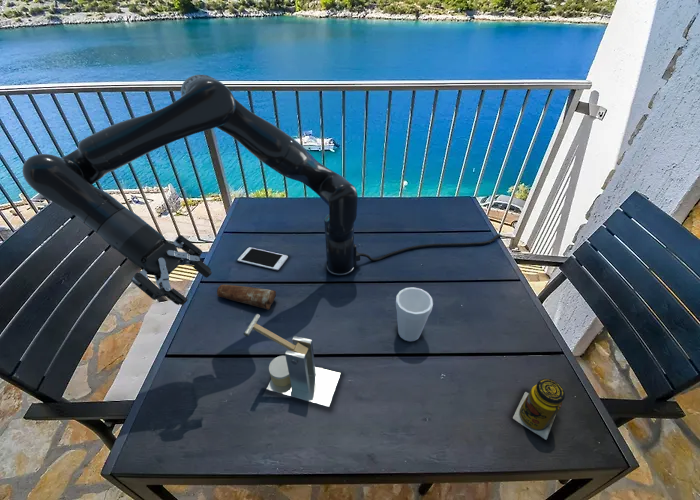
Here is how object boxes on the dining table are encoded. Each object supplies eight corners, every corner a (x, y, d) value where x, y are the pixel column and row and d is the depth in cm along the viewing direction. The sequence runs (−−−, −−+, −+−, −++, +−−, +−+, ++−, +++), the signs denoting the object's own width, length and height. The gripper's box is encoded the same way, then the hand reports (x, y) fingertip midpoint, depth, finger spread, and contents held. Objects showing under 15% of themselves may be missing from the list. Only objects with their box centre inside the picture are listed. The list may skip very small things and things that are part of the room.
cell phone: (278, 271, 118) (277, 269, 118) (237, 261, 122) (236, 259, 122) (288, 257, 124) (288, 255, 123) (249, 248, 128) (248, 246, 128)
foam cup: (428, 324, 100) (435, 292, 92) (423, 349, 93) (430, 317, 85) (396, 315, 103) (400, 284, 95) (388, 340, 96) (392, 308, 88)
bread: (270, 314, 103) (267, 301, 100) (215, 299, 108) (210, 287, 104) (279, 299, 108) (277, 286, 104) (226, 286, 113) (222, 273, 109)
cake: (290, 361, 90) (288, 351, 87) (299, 379, 86) (297, 370, 83) (267, 371, 87) (265, 361, 85) (276, 390, 83) (273, 381, 81)
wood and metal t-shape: (242, 336, 75) (245, 330, 74) (254, 317, 79) (257, 311, 78) (298, 367, 77) (302, 362, 75) (307, 347, 81) (311, 342, 79)
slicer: (266, 391, 84) (256, 355, 75) (282, 360, 91) (274, 323, 82) (329, 409, 81) (326, 373, 72) (340, 375, 88) (339, 338, 78)
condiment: (512, 418, 79) (529, 390, 71) (525, 391, 84) (542, 363, 76) (546, 440, 75) (567, 413, 68) (557, 411, 80) (578, 382, 73)
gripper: (108, 249, 62) (183, 306, 66) (163, 208, 72) (224, 260, 77) (98, 266, 66) (169, 319, 71) (151, 225, 77) (209, 273, 82)
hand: (197, 288), depth 74 cm, fingers open, 8 cm apart
